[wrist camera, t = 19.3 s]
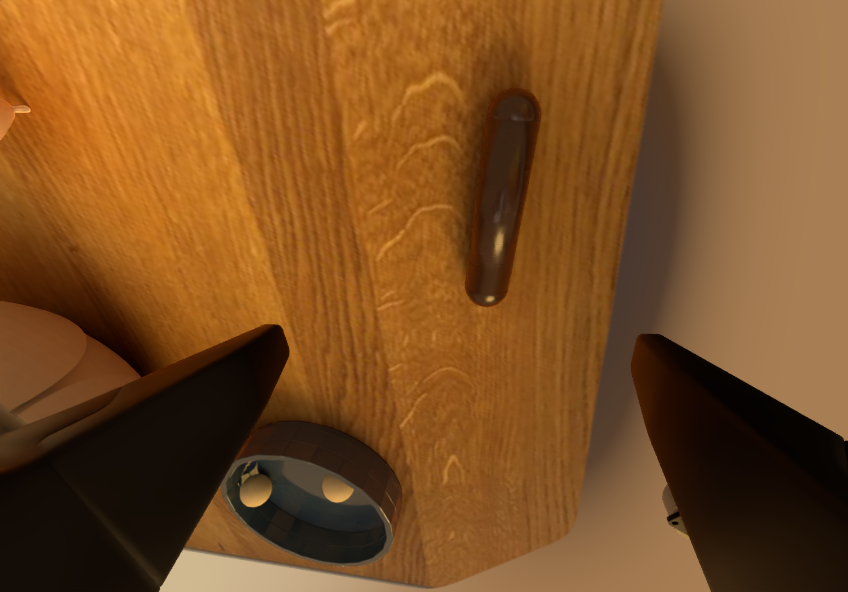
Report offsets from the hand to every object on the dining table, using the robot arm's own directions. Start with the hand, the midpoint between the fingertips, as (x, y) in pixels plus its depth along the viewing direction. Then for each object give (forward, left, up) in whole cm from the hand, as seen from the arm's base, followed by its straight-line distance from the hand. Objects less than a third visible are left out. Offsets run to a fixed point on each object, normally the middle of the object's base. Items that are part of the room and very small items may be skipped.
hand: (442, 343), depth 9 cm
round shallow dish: (-2, +30, -12) cm, 32 cm away
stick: (0, -1, -11) cm, 11 cm away
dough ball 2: (-4, +26, -11) cm, 28 cm away
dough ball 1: (+2, +33, -10) cm, 35 cm away
